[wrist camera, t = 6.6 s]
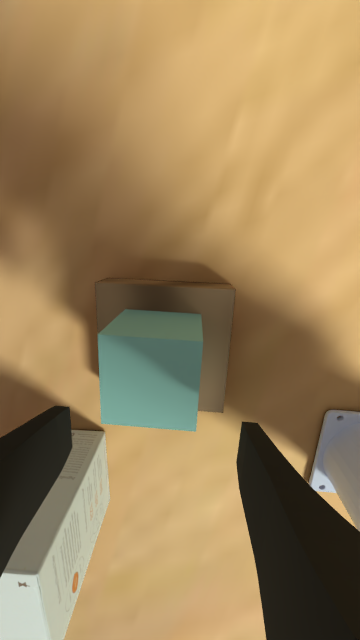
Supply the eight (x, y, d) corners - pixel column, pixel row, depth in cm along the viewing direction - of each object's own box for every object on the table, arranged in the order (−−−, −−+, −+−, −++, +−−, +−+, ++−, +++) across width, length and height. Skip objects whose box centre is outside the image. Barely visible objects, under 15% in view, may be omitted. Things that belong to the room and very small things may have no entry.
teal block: (201, 314, 17) (203, 341, 12) (195, 382, 18) (195, 431, 13) (125, 309, 17) (97, 334, 12) (125, 377, 18) (101, 423, 14)
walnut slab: (229, 282, 19) (235, 289, 16) (219, 390, 22) (222, 412, 19) (109, 277, 20) (95, 282, 17) (113, 382, 22) (101, 403, 19)
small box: (45, 425, 23) (-71, 564, 13) (107, 429, 23) (37, 575, 13) (55, 494, 25) (-38, 658, 15) (111, 498, 25) (54, 669, 15)
